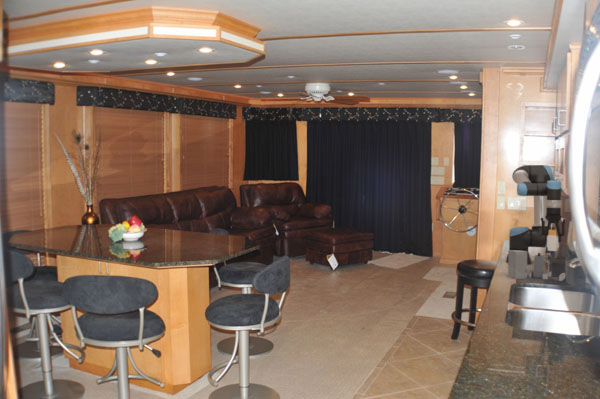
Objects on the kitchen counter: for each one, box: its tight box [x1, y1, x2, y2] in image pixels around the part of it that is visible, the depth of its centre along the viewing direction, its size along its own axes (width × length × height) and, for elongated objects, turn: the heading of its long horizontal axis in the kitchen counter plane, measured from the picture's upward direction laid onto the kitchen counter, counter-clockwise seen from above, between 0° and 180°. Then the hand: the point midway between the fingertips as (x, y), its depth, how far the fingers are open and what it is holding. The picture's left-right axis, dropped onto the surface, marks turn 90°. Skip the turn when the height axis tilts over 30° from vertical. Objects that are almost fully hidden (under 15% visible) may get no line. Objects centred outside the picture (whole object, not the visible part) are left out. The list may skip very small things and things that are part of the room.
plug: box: [547, 226, 559, 252], centre depth 308 cm, size 4×4×14 cm
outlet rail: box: [528, 269, 566, 282], centre depth 298 cm, size 9×17×4 cm, turn 53°
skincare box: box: [507, 249, 528, 280], centre depth 299 cm, size 8×7×16 cm
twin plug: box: [533, 252, 545, 279], centre depth 300 cm, size 4×4×14 cm
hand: (552, 247), depth 308 cm, fingers closed on plug, 4 cm apart
